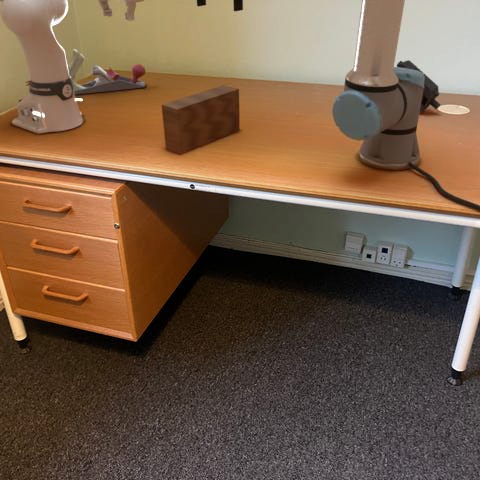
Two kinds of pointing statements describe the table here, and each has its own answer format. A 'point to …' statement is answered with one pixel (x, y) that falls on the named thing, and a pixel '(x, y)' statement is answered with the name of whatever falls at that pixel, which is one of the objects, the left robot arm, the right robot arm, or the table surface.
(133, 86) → the hand plane
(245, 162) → the table surface
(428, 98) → the tool
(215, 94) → the box
